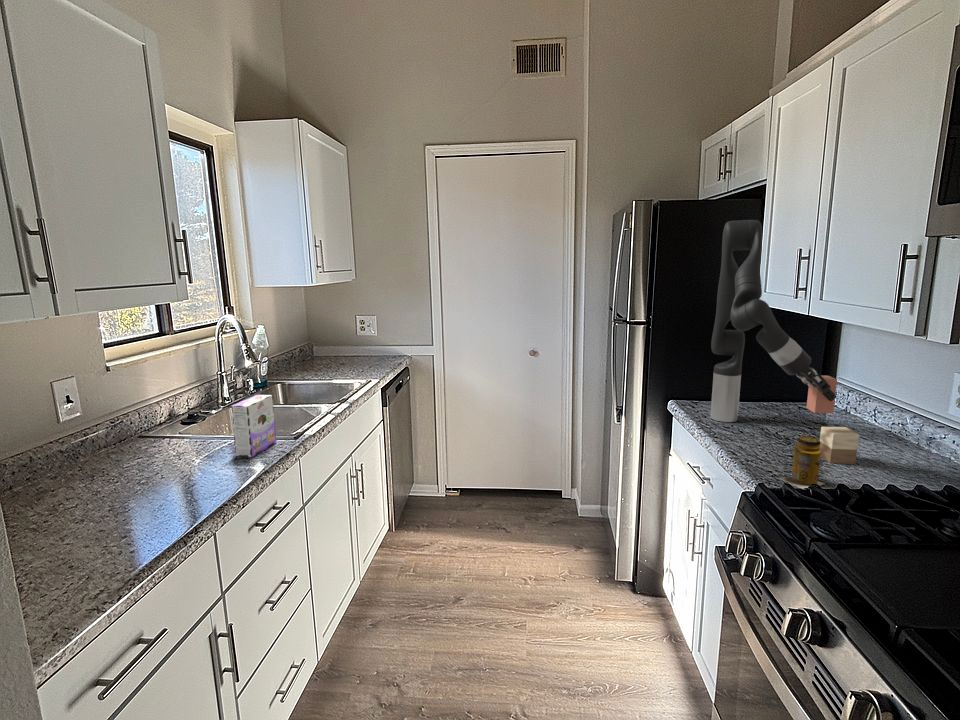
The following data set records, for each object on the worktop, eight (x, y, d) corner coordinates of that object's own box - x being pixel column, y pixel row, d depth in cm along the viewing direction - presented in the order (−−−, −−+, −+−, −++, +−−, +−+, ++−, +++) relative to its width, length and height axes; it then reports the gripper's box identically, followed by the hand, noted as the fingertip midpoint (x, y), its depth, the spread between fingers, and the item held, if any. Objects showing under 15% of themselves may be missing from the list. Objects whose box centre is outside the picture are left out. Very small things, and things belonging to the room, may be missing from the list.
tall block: (806, 408, 162) (810, 375, 160) (824, 408, 161) (828, 375, 159) (814, 413, 157) (818, 379, 155) (833, 413, 156) (837, 379, 154)
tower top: (819, 440, 164) (821, 426, 164) (844, 441, 164) (846, 427, 163) (831, 448, 158) (833, 434, 157) (857, 449, 157) (859, 434, 156)
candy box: (261, 441, 181) (257, 393, 178) (277, 442, 180) (273, 394, 177) (234, 456, 168) (229, 404, 165) (251, 457, 167) (247, 405, 164)
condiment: (825, 484, 144) (830, 441, 142) (803, 490, 141) (808, 445, 138) (799, 474, 151) (803, 433, 148) (778, 479, 147) (782, 437, 145)
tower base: (817, 455, 165) (819, 440, 164) (841, 455, 165) (843, 441, 164) (829, 463, 158) (831, 449, 158) (855, 464, 158) (857, 449, 157)
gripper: (811, 350, 149) (853, 394, 150) (788, 342, 163) (826, 381, 164) (789, 369, 151) (830, 412, 152) (768, 359, 165) (805, 398, 166)
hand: (828, 396), depth 158 cm, fingers closed on tall block, 5 cm apart
